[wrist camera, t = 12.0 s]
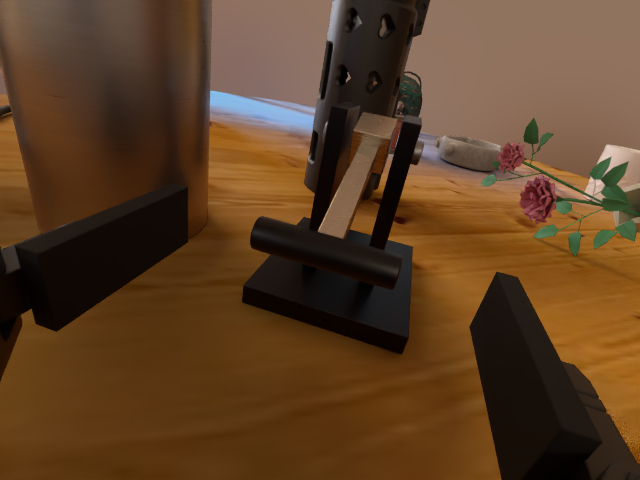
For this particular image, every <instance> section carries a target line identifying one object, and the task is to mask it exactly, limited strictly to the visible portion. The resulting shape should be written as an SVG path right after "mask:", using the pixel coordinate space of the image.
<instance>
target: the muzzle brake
mask: <svg viewBox="0 0 640 480" xmlns="http://www.w3.org/2000/svg"><path fill="white" fill-rule="evenodd" d="M429 3H430V0H333V3H332V10H331V16H330V22H329V28H328V35H327V43H326V51H325V57H324V63H323V70H322V76H321V82H320V88H319V95H318V99H317V105H316V111H315V117H314V123H313V133H312V139H311V145H310V152H309V157H308V162H307V168H306V174H305V181H304V182H305V185H306V186H307V187H308V188H309V189H310V190H312V191H314V192H316V186H317V180H318V175H319V169H320V163H321V158H322V152H323V146H324V143H323V132H324V128H325V125H326V123H327V121H328V118H329V112H330V107H331V106H332V105H336V104H341V103H345V102H349V103H353V104H358V105H360V110H359V115H358V120H359V118H360V117H361V115H362V113H363V112H367V113H371V114H376V115H381V116H385V117H390V118H394V119H396V117H395V114H396V110H397V106H398V102H399V99H401V98H402V95H403V94H402V93H401V92H400V90H399V89H400V85H401V82H402V78H403V74H404V70H405V66H406V62H407V58H408V54H409V50H410V47H411V43H412V39H413V37H415V36H418V35H421V33H422V29H423V25H424V21H425V18H426V14H427V10H428V6H429ZM347 72H349V75H350V77H351V79H350V80H348V81H347V82H346V79H347V77H348V74H347ZM374 76H375V78H376V81H377V84H376V85H375V86H374V87H373V88H372V83H373V82H374V80H373V77H374ZM358 120H357V122H358ZM348 168H349V167H348V166H347V170H348ZM346 172H347V171H346ZM381 175H382V174H381ZM381 175H380V174H376V173H372V172H371V175H370V177H369V180H368V183H367V185H366V188H365V190H364V193H363V196H362V198H361V200H366V199H368V198H370V197H371V195H372V192H373V190H376V189H378V186H379V182H380V178H381Z"/></svg>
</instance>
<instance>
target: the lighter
mask: <svg viewBox="0 0 640 480" xmlns="http://www.w3.org/2000/svg"><path fill="white" fill-rule="evenodd" d="M403 107H404V105H403V103H402V101H399V102H398V106H397V110H396V114H395V117H396V119H397V124H396V128H395V132H394V136H393V140H392V143H391V147H390V151H389V153H392V154H394V152H395V149H396V148H395V146H396V142H397V139H398V135H399V131H400V128H401V124H402V121H403V120H404V115H402V114H400V113H401V110H403Z"/></svg>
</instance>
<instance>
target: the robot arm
mask: <svg viewBox="0 0 640 480" xmlns="http://www.w3.org/2000/svg"><path fill="white" fill-rule="evenodd" d="M9 112H11V107H10V105H6V106H2V107H0V116H1V115H3V114H6V113H9ZM186 243H188V187H185V186H181V185H178V184H174V183H172V184H169V185H166V186H164V187H161V188H159V189H156V190H154V191H151V192H149V193H146V194H144V195H141V196H139V197H136V198H134V199H131V200H129V201H126V202H124V203H121V204H119V205H116V206H114V207H111V208H109V209H106V210H104V211H101V212H99V213H96V214H94V215H91V216H88V217H86V218H83V219H81V220H78V221H74V222H70V223H68V224H65V225H63V226H60V227H58V228H57V229H53V230H50V231H48V232H45V234H40V235H37V236H35V237H32V238H30V239H27V240H25V241H22V242H20V243H17V244H15V245H12V246H10V247H7V248H4V249H2V250H1V247H0V381H1V378H2V376H3V373H4V371H5V368H6V366H7V363H8V360H9V358H10V355H11V353H12V350H13V348H14V345H15V343H16V340H17V337H18V335H19V332H20V330H21V327H22V318H21V314H23V313H25V312H26V311H28V310H30V309H32V312H33V315H34V319H35V323H36V324H37V325H40V326H43V327H45V328H48V329H51V330H53V331H56V332H57V331H58V330H60V329H61V328H63V327H64V326H66V325H67V324H69V323H70V322H72V321H73V320H75V319H76V318H77V317H79V316H80V315H82V314H83V313H85V312H86V311H88V310H89V309H91V308H92V307H94V306H95V305H97V304H98V303H100V302H101V301H102V300H104V299H105V298H107V297H108V296H110V295H111V294H113V293H114V292H116V291H117V290H119V289H120V288H122V287H123V286H124V285H126V284H127V283H129V282H130V281H132V280H133V279H135V278H136V277H138V276H139V275H141V274H142V273H144V272H145V271H147V270H148V269H149V268H151V267H152V266H154V265H155V264H157V263H158V262H160V261H161V260H163V259H164V258H166V257H167V256H169V255H170V254H171V253H173V252H174V251H176V250H177V249H179V248H180V247H182V246H183V245H185V244H186ZM470 331H471V336H472V341H473V346H474V350H475V355H476V360H477V365H478V369H479V374H480V379H481V384H482V388H483V393H484V398H485V402H486V407H487V412H488V417H489V421H490V426H491V431H492V436H493V440H494V445H495V450H496V455H497V459H498V464H499V469H500V474H501V478H502V480H640V464H638V463H637V462H636V460H635V458H634V457H633V455H632V453H631V452H630V450H629V448H628V446H627V445H626V443H625V441H624V439H623V438H622V436H621V434H620V433H619V431H618V429H617V427H616V426H615V424H614V422H613V420H612V419H611V417H610V415H609V414H607V413H606V411H607V410H606V408H605V407H604V405H603V403H602V401H601V400H599V399H598V398H599V396H598V395H597V393H596V391H595V389H594V388H593V386H592V384H591V382H590V381H589V380H588V379H587V378H586V377H585V376H584V375H583V374H582V373H581V372H580V370H579V369H578V368H577V367H576V366H575V365H573V364H569V363H566V362H563V361H561V360H560V358H559V356H558V354H557V352H556V350H555V348H554V346H553V344H552V343H551V341H550V339H549V337H548V335H547V333H546V331H545V329H544V327H543V325H542V323H541V321H540V319H539V317H538V315H537V314H536V312H535V310H534V308H533V306H532V304H531V302H530V300H529V298H528V296H527V294H526V292H525V290H524V288H523V286H522V284H521V283H520V281H519V279H518V277H515V276H511V275H507V274H504V273H500V272H496V274H495V276H494V278H493V280H492V282H491V284H490V286H489V288H488V290H487V292H486V294H485V296H484V298H483V300H482V302H481V305H480V307H479V309H478V311H477V313H476V315H475V317H474V319H473V321H472V323H471V325H470Z"/></svg>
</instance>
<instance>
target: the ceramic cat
mask: <svg viewBox="0 0 640 480" xmlns="http://www.w3.org/2000/svg"><path fill="white" fill-rule="evenodd" d="M404 73H411V74H413V75H415V76H416V77H417V78H418V79H419V81H420V86H419V84H418V83H417V82H416V80H414V79H412V78H410V77H407V76H405V75H404V74H403V78H402V82H401V85H400V89H399V90H400V92H401V93H402V94H403V95H402V98H401V99H399V101H402V103H403V105H404V107H403V110H401V113H402V115H404V118H405V116H406V115H410V116H415V117H418V116H419V114H420V110H421V106H422V93H421V80H420V77H419V76H418V75H416V74H415V73H412V72H404ZM373 80H374V82H373V83H372V88H373V87H374V86H375V85H376V84H377V81H376V78H375V76H374V77H373ZM403 121H404V120H403ZM403 121H402V123H403ZM401 127H402V124H401ZM400 129H401V128H400Z"/></svg>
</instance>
